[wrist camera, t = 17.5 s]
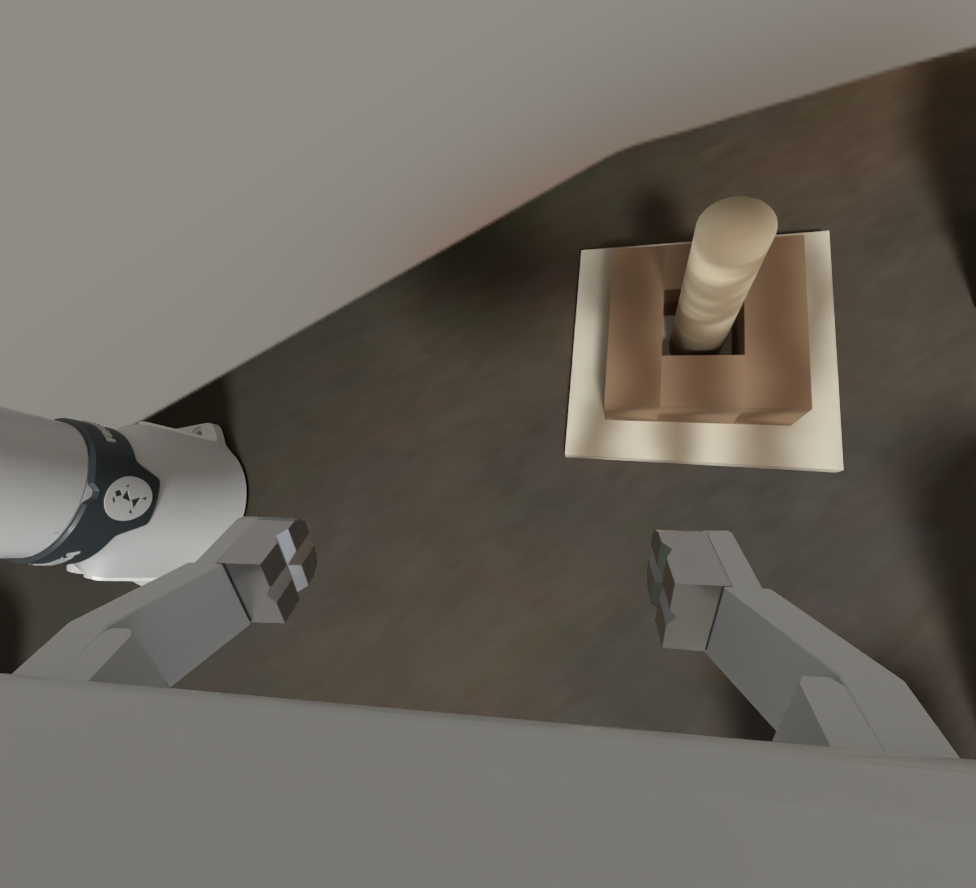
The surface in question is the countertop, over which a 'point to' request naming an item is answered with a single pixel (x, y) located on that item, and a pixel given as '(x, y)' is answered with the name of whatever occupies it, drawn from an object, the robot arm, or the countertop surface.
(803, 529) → the countertop surface
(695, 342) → the maple peg
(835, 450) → the socket board
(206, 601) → the robot arm
